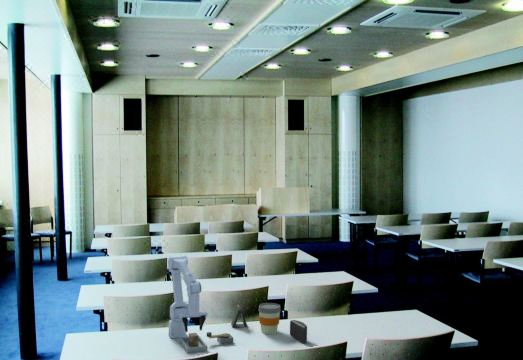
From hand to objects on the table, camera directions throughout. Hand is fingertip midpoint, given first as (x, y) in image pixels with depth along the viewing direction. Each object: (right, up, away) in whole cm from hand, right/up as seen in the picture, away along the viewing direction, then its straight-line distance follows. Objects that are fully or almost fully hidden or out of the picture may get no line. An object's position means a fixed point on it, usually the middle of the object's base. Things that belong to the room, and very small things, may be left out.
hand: (193, 330), depth 313 cm
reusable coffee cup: (+40, -8, +27) cm, 49 cm away
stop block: (0, -8, 0) cm, 8 cm away
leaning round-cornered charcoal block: (+56, -9, +14) cm, 58 cm away
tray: (0, -9, 0) cm, 9 cm away
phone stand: (+23, -7, +37) cm, 44 cm away
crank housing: (+15, -8, +12) cm, 21 cm away
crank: (+12, -5, +7) cm, 15 cm away
